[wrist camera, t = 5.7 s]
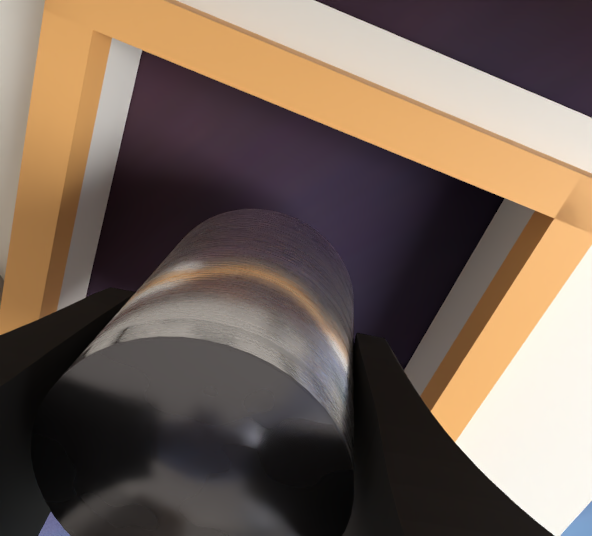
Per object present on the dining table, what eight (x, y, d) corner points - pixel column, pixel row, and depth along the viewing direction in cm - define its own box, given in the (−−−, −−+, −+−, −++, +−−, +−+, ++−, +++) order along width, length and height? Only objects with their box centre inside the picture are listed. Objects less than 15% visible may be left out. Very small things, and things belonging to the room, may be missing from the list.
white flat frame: (776, 196, 13) (884, 241, 11) (476, 559, 20) (495, 645, 17) (-88, -170, 12) (-218, -225, 9) (-108, 347, 18) (-188, 405, 16)
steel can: (371, 228, 12) (386, 377, 7) (334, 396, 14) (322, 622, 9) (170, 192, 13) (22, 310, 7) (159, 363, 14) (37, 564, 9)
